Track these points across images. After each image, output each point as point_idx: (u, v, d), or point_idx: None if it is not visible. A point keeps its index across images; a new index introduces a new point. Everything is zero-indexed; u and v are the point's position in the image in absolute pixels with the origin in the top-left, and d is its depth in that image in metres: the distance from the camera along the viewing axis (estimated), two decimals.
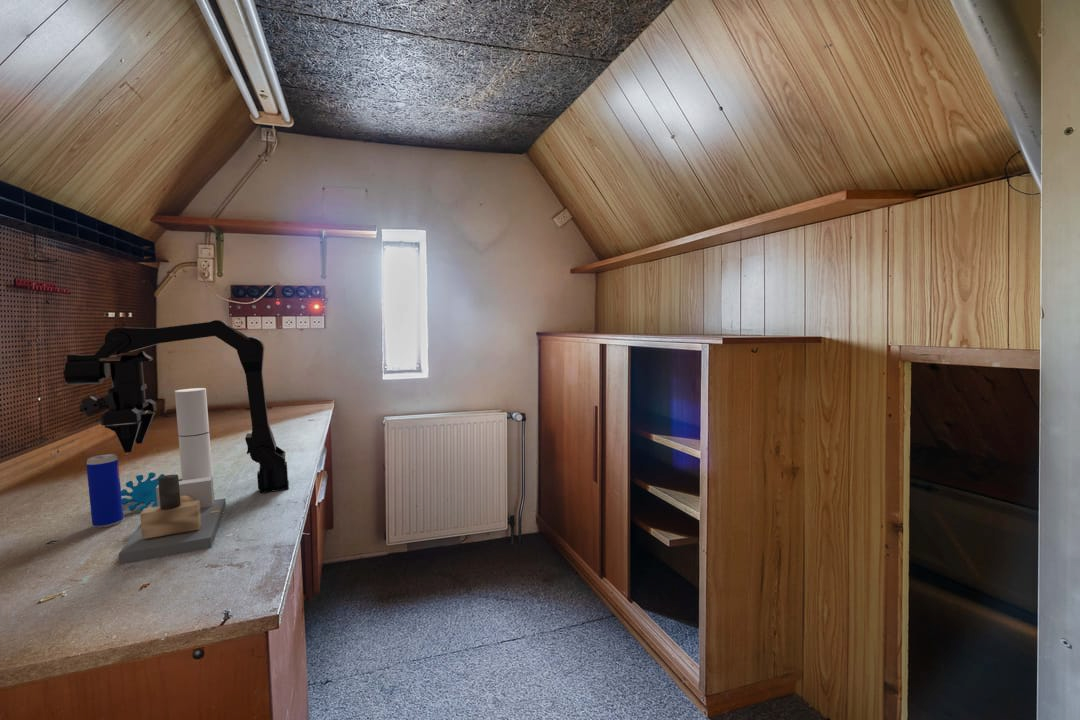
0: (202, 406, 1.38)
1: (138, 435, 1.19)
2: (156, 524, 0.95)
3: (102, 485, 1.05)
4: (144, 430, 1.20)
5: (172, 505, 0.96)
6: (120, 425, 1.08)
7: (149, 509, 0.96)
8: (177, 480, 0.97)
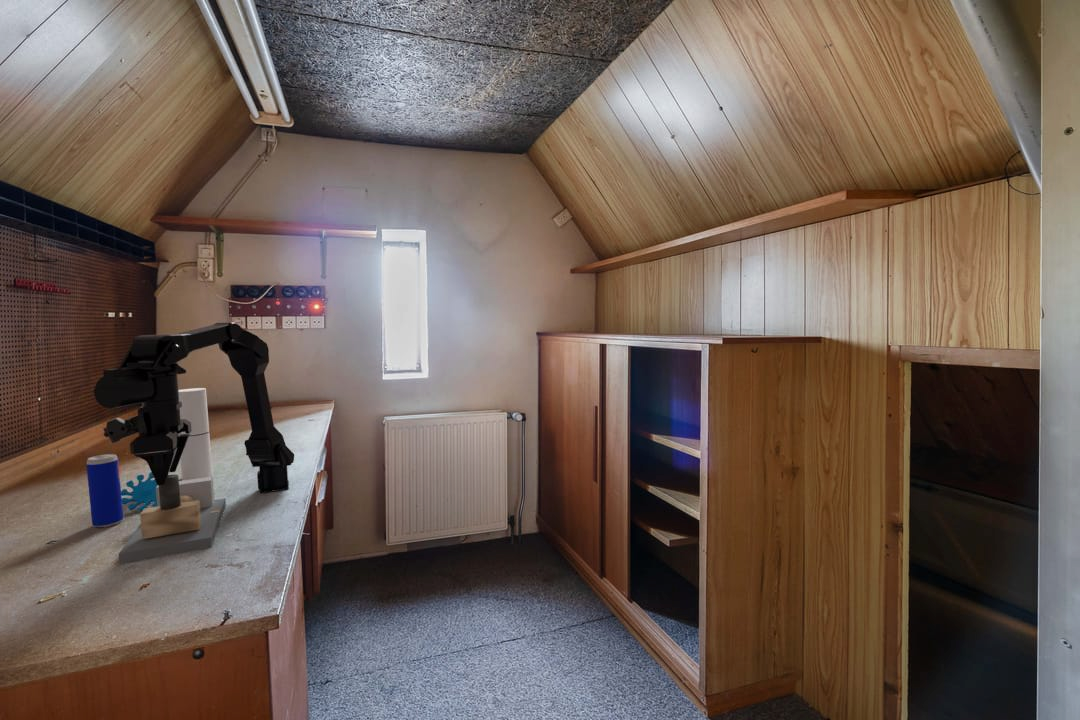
0: (202, 406, 1.38)
1: None
2: (156, 524, 0.95)
3: (102, 485, 1.05)
4: (178, 456, 1.01)
5: (172, 505, 0.96)
6: (153, 453, 0.89)
7: (149, 509, 0.96)
8: (177, 480, 0.97)
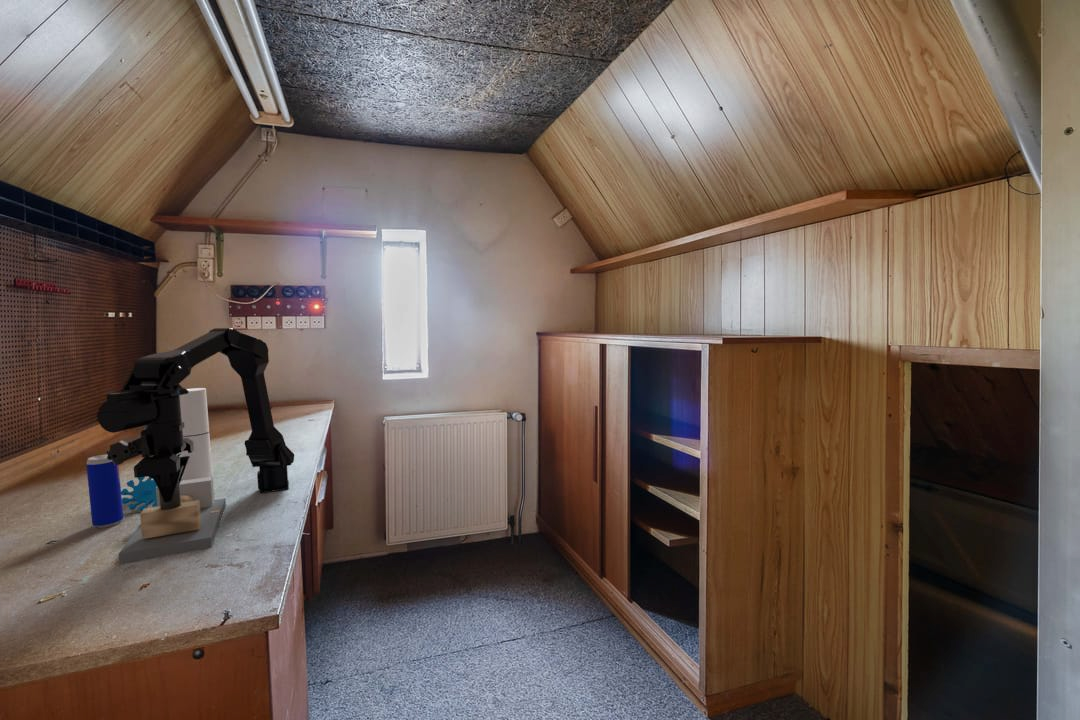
0: (202, 406, 1.38)
1: None
2: (156, 524, 0.95)
3: (102, 485, 1.05)
4: None
5: (172, 505, 0.96)
6: None
7: (149, 509, 0.96)
8: None
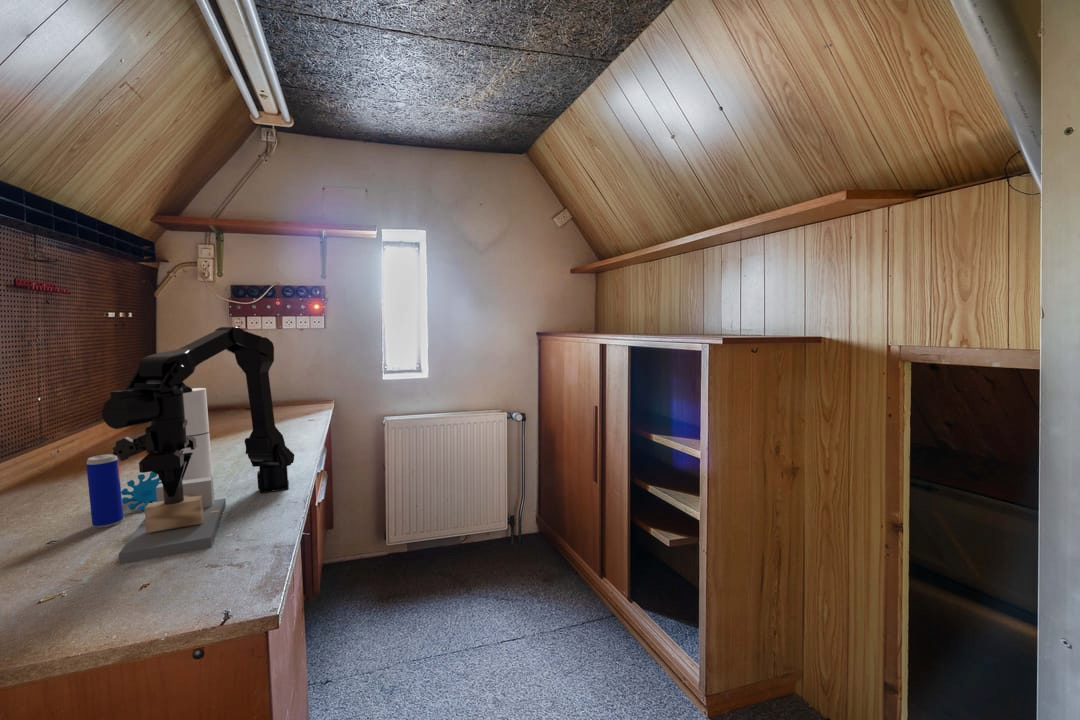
0: (202, 406, 1.38)
1: None
2: (160, 518, 0.98)
3: (102, 485, 1.05)
4: None
5: (175, 500, 0.99)
6: None
7: (154, 504, 0.99)
8: None
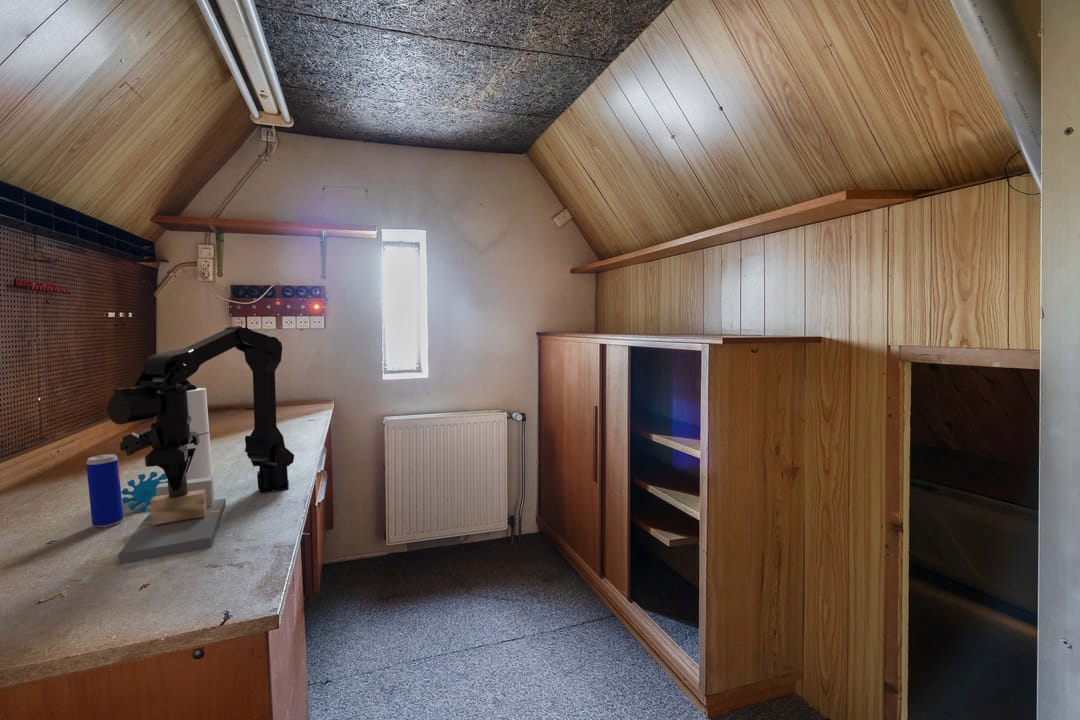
0: (202, 406, 1.38)
1: None
2: (164, 511, 1.02)
3: (102, 485, 1.05)
4: None
5: (180, 493, 1.03)
6: None
7: (159, 497, 1.03)
8: None
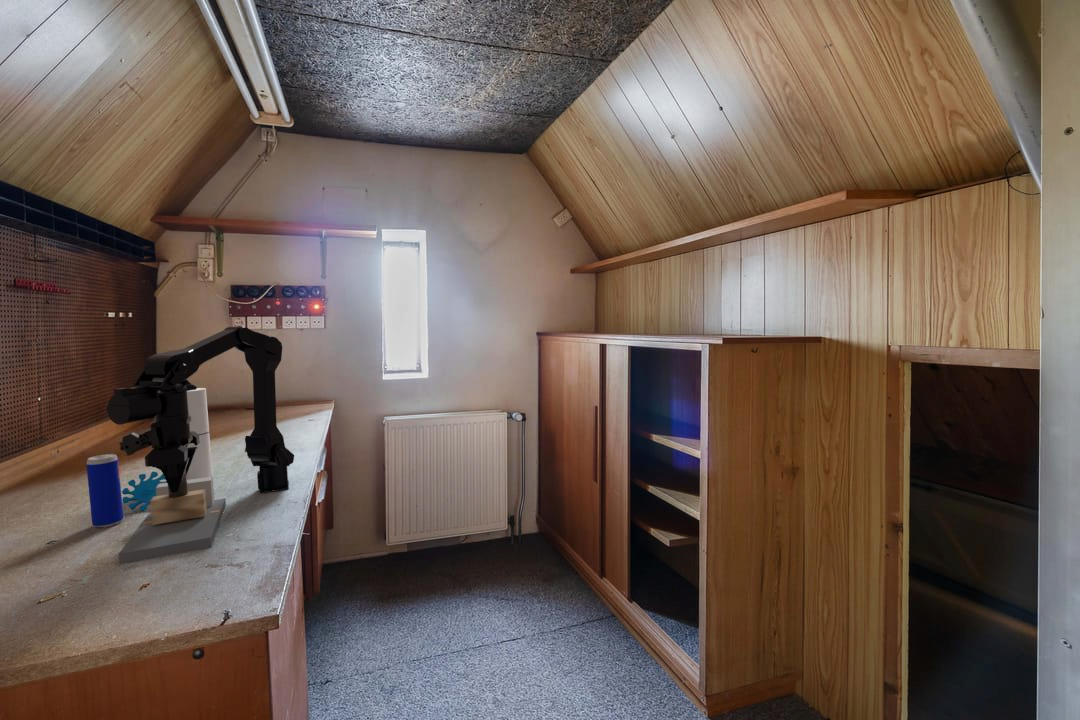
0: (202, 406, 1.38)
1: None
2: (165, 511, 1.02)
3: (102, 485, 1.05)
4: (186, 469, 1.07)
5: (180, 493, 1.03)
6: (167, 463, 0.97)
7: (159, 497, 1.03)
8: None
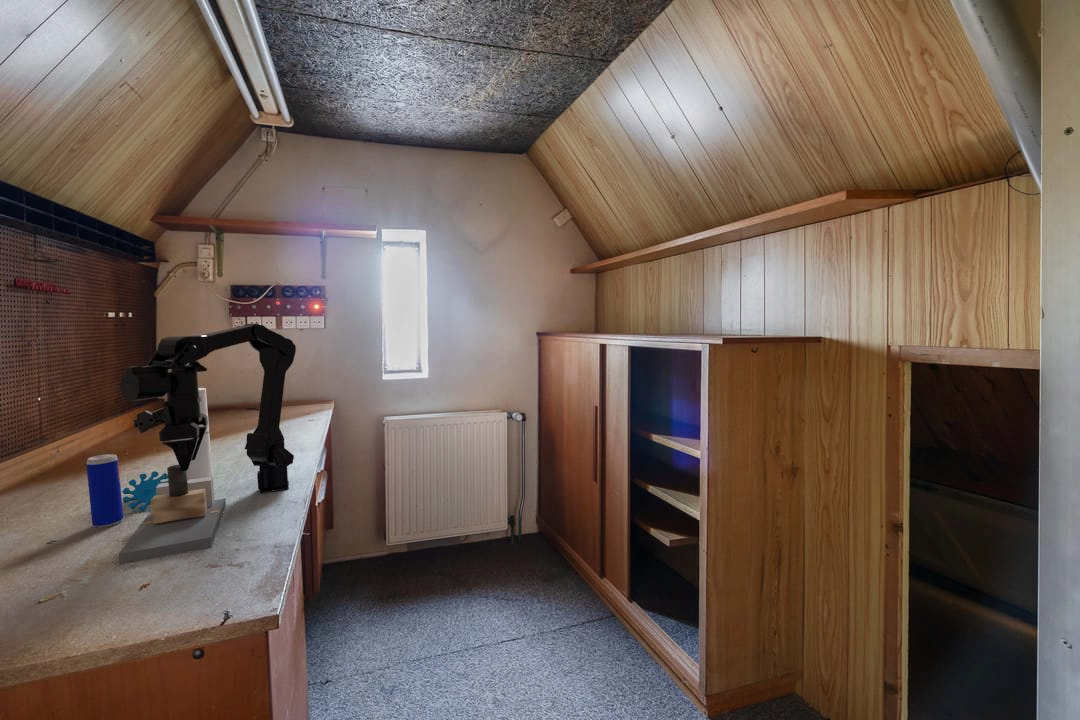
0: (202, 406, 1.38)
1: None
2: (165, 510, 1.02)
3: (102, 485, 1.05)
4: (197, 446, 1.12)
5: (180, 492, 1.03)
6: (178, 441, 1.00)
7: (159, 496, 1.03)
8: None
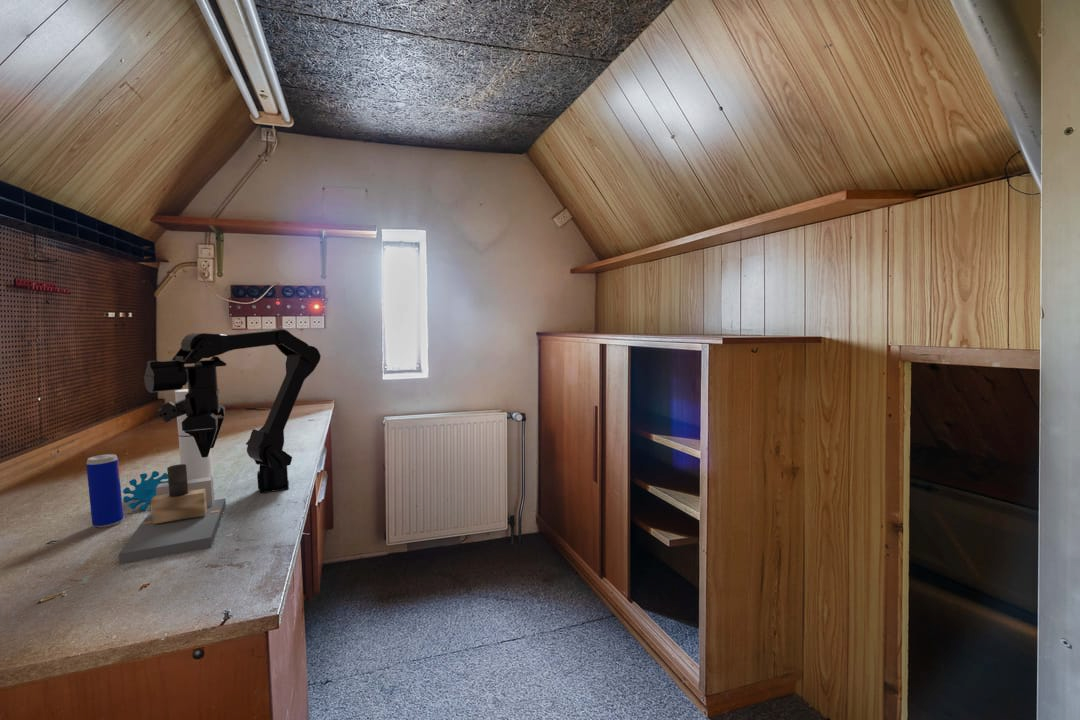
0: None
1: None
2: (165, 510, 1.02)
3: (102, 485, 1.05)
4: (215, 435, 1.21)
5: (180, 492, 1.03)
6: (199, 430, 1.08)
7: (159, 496, 1.03)
8: (185, 469, 1.04)
